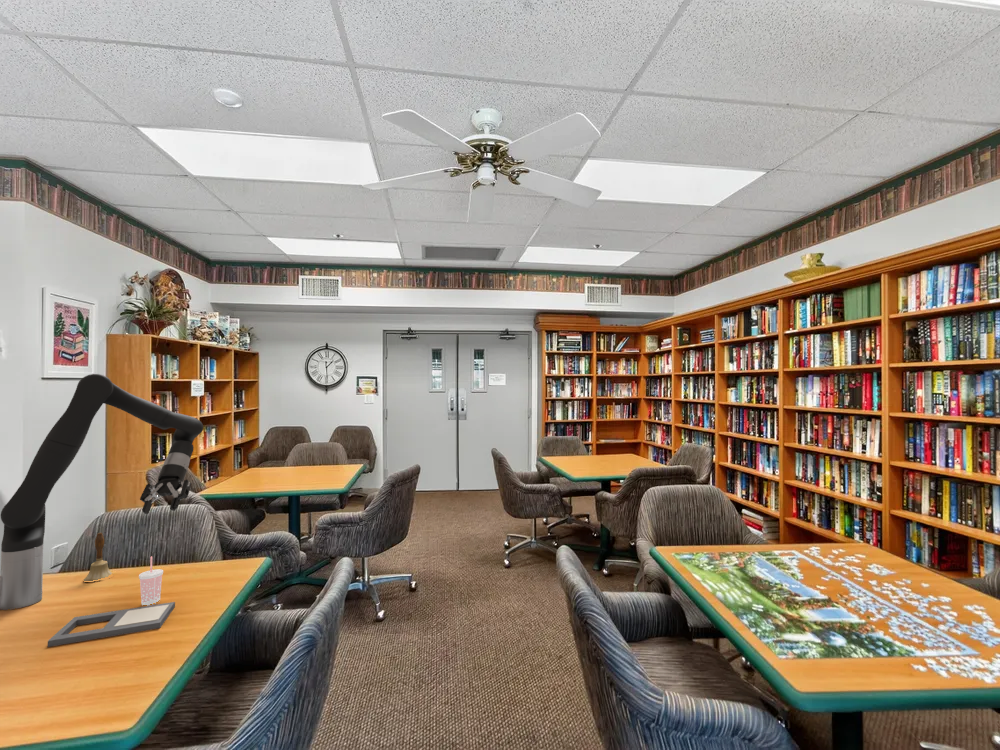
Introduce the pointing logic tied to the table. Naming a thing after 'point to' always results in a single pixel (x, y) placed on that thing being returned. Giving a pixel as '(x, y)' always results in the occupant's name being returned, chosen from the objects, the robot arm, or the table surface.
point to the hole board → (114, 623)
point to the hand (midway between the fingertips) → (158, 511)
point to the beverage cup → (150, 585)
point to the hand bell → (98, 562)
